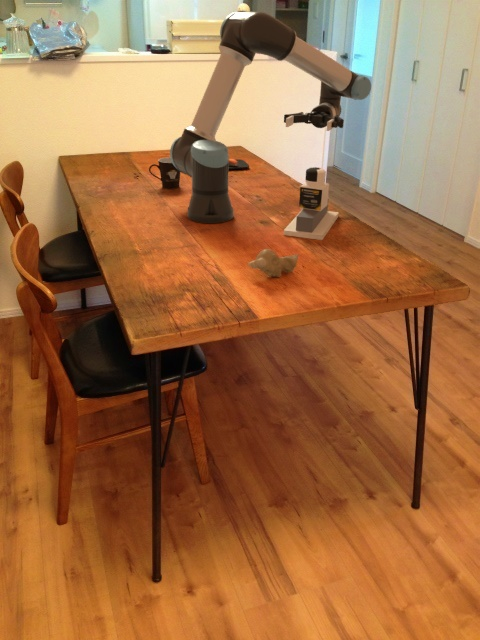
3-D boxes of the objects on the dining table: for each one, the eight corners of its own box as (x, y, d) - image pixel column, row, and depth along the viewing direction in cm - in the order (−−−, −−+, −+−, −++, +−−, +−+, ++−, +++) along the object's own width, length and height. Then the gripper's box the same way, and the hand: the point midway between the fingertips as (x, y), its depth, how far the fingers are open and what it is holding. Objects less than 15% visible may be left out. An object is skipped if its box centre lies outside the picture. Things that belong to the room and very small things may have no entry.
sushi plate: (183, 174, 245) (183, 165, 244) (172, 158, 271) (171, 149, 269) (251, 171, 252) (251, 162, 250) (233, 155, 278) (233, 147, 276)
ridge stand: (322, 240, 177) (323, 220, 174) (283, 234, 181) (284, 215, 178) (338, 216, 197) (339, 199, 194) (303, 212, 201) (304, 195, 198)
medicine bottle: (298, 208, 185) (301, 169, 179) (306, 202, 190) (308, 164, 185) (320, 211, 182) (323, 172, 176) (327, 205, 188) (331, 167, 182)
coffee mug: (183, 183, 230) (183, 157, 226) (179, 190, 223) (178, 163, 218) (154, 182, 231) (153, 156, 227) (149, 188, 224) (147, 161, 219)
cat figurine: (303, 254, 151) (262, 247, 145) (298, 282, 151) (257, 275, 146) (287, 252, 158) (247, 245, 153) (282, 279, 159) (242, 272, 153)
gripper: (356, 129, 206) (344, 140, 189) (287, 123, 214) (269, 133, 196) (359, 107, 203) (347, 115, 185) (289, 101, 210) (270, 109, 193)
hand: (307, 124), depth 191 cm, fingers open, 13 cm apart
